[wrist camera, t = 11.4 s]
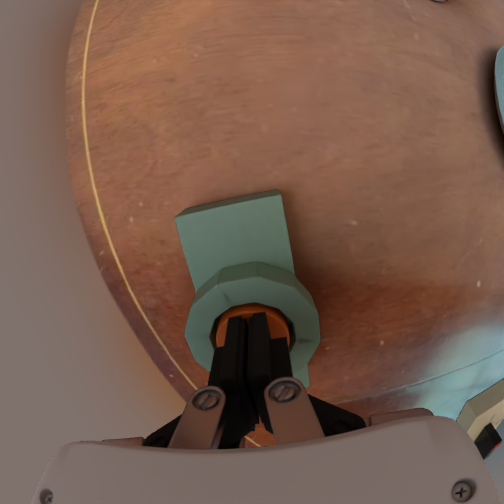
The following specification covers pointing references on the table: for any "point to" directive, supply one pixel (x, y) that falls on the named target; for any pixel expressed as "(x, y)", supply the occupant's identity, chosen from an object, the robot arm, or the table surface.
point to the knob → (487, 441)
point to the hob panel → (483, 410)
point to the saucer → (499, 85)
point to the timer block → (244, 273)
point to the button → (273, 314)
